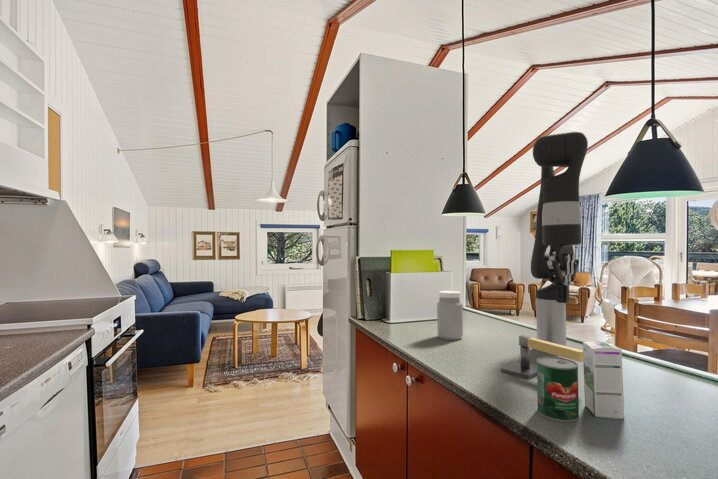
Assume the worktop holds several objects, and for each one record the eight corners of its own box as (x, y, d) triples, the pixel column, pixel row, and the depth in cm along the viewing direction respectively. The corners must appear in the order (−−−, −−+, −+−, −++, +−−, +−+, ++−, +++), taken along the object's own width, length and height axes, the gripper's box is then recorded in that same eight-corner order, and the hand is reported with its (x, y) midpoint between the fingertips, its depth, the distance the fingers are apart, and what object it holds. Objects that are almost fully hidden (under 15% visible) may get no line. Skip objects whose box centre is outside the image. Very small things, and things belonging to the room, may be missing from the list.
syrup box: (625, 419, 76) (624, 348, 76) (593, 417, 77) (592, 347, 78) (612, 407, 82) (611, 341, 82) (583, 405, 83) (581, 340, 83)
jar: (436, 334, 151) (436, 290, 151) (461, 334, 150) (460, 290, 150) (438, 340, 141) (437, 293, 142) (464, 341, 140) (464, 293, 140)
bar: (516, 344, 107) (516, 336, 107) (524, 343, 108) (523, 335, 109) (578, 362, 91) (578, 352, 91) (586, 360, 92) (586, 350, 92)
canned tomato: (561, 425, 74) (560, 370, 74) (529, 409, 81) (528, 359, 81) (587, 417, 77) (586, 364, 77) (554, 403, 84) (553, 354, 85)
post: (518, 364, 112) (518, 341, 112) (545, 371, 106) (545, 346, 106) (501, 371, 106) (500, 346, 106) (528, 379, 99) (528, 353, 100)
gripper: (566, 221, 74) (568, 307, 74) (591, 223, 83) (593, 301, 82) (529, 223, 80) (531, 303, 80) (556, 225, 89) (557, 298, 88)
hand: (562, 302), depth 81 cm, fingers closed
